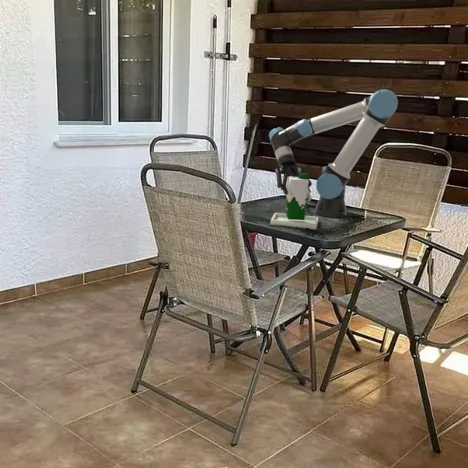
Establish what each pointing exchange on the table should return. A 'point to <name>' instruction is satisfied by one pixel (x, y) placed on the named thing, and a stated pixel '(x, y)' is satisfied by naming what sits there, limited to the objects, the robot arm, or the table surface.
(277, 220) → the tray
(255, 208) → the table surface
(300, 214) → the soya milk
